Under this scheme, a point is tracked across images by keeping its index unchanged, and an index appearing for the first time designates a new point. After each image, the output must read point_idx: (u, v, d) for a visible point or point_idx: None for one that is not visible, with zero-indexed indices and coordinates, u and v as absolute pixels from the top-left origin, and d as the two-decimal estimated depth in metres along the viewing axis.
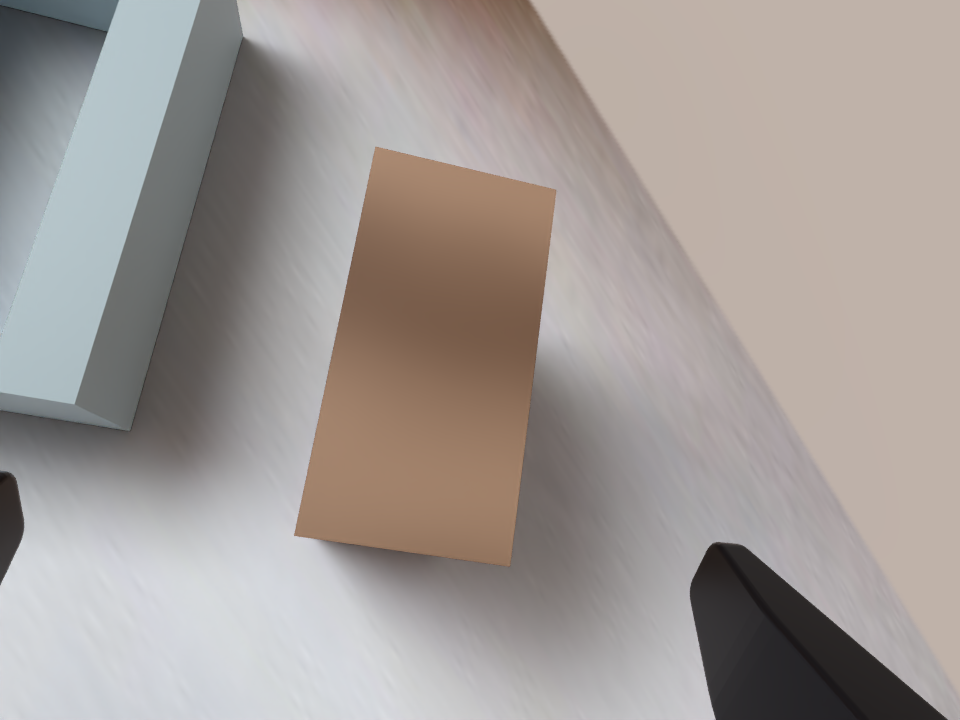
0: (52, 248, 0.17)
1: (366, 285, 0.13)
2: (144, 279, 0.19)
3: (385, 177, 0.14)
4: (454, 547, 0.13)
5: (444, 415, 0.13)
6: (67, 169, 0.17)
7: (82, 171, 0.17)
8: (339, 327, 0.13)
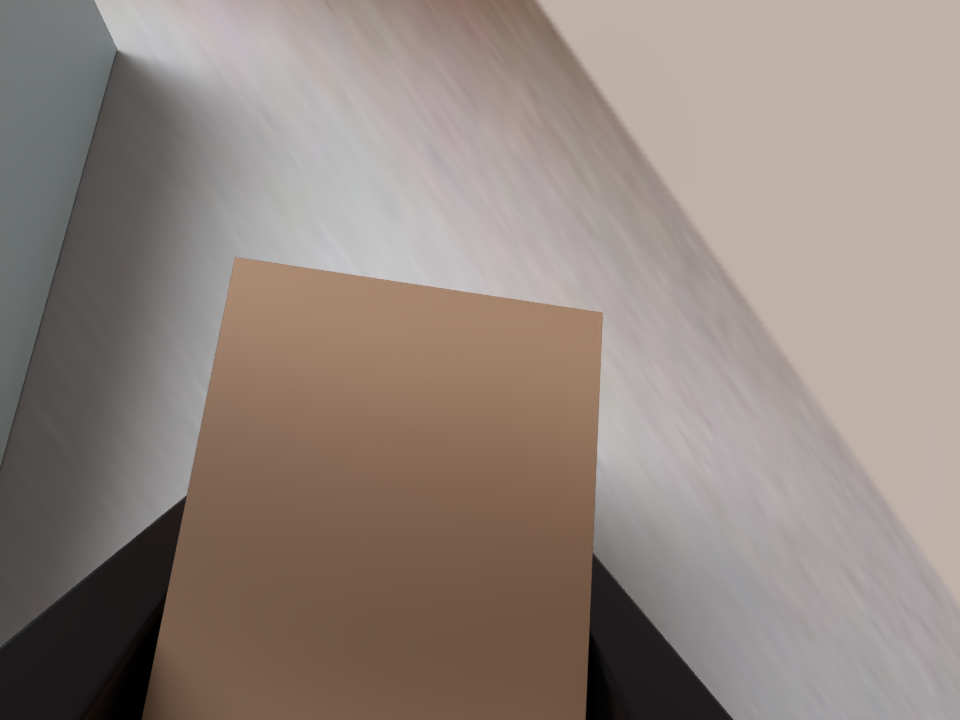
0: None
1: (215, 570, 0.06)
2: None
3: (256, 321, 0.07)
4: None
5: None
6: None
7: None
8: (154, 680, 0.06)
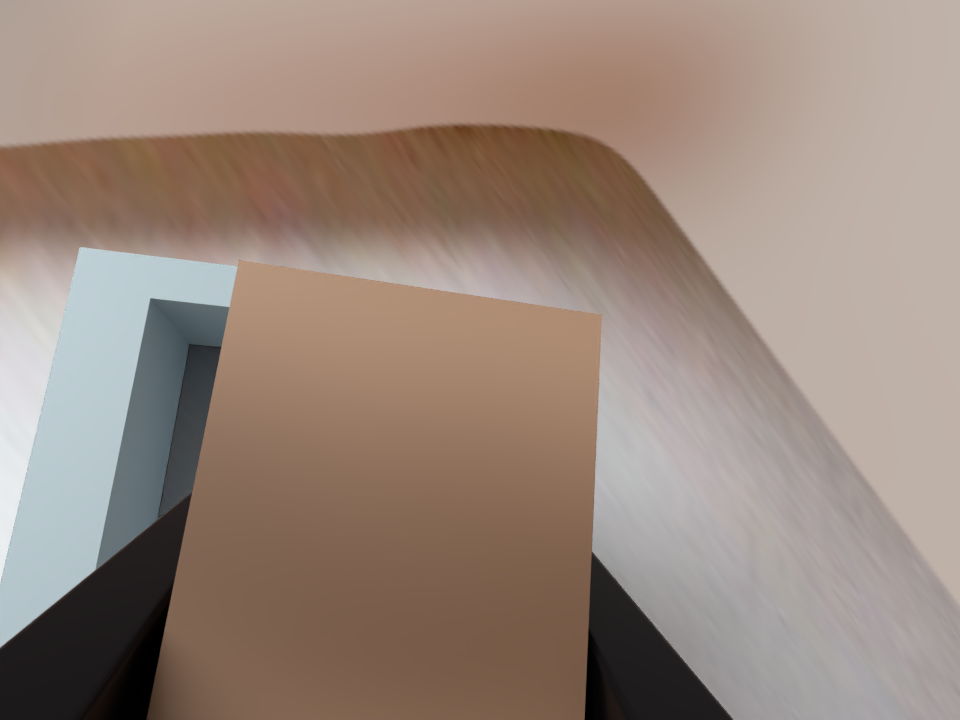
0: None
1: (220, 568, 0.06)
2: None
3: (260, 323, 0.07)
4: None
5: None
6: None
7: None
8: (159, 677, 0.06)
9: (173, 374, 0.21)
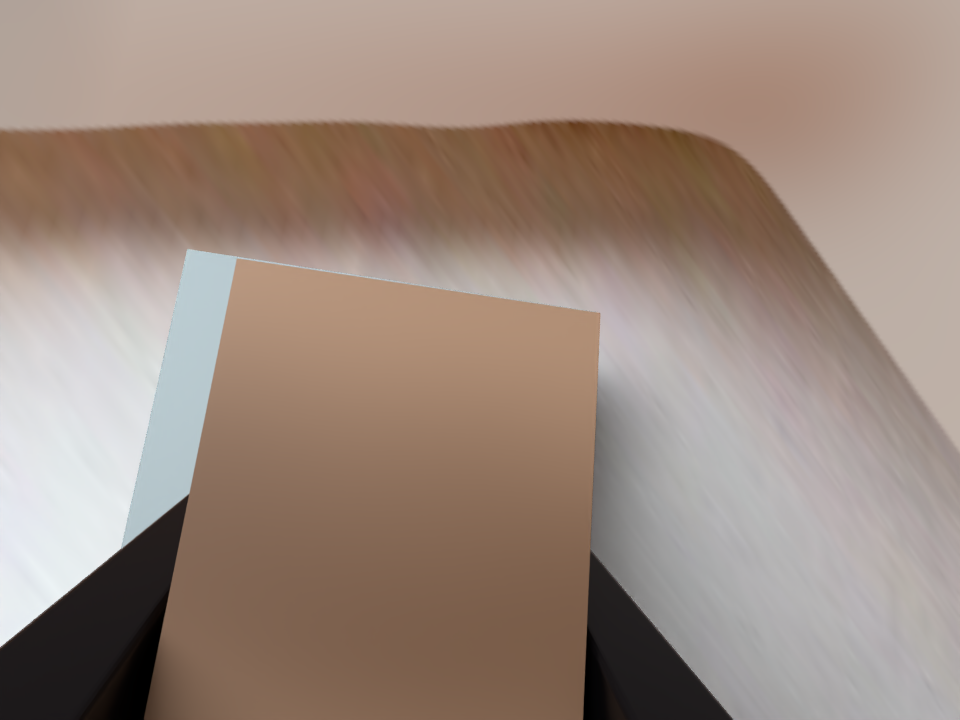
0: None
1: (217, 566, 0.06)
2: None
3: (258, 321, 0.07)
4: None
5: None
6: None
7: None
8: (157, 675, 0.06)
9: None
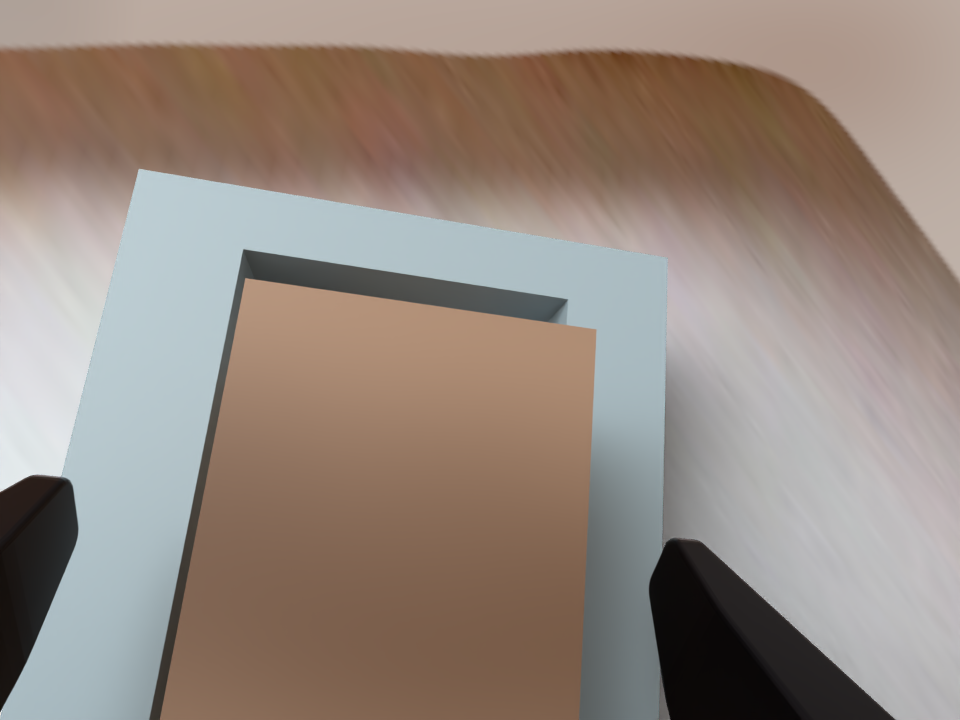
0: None
1: (228, 576, 0.07)
2: None
3: (266, 339, 0.07)
4: None
5: None
6: None
7: None
8: (171, 681, 0.06)
9: None
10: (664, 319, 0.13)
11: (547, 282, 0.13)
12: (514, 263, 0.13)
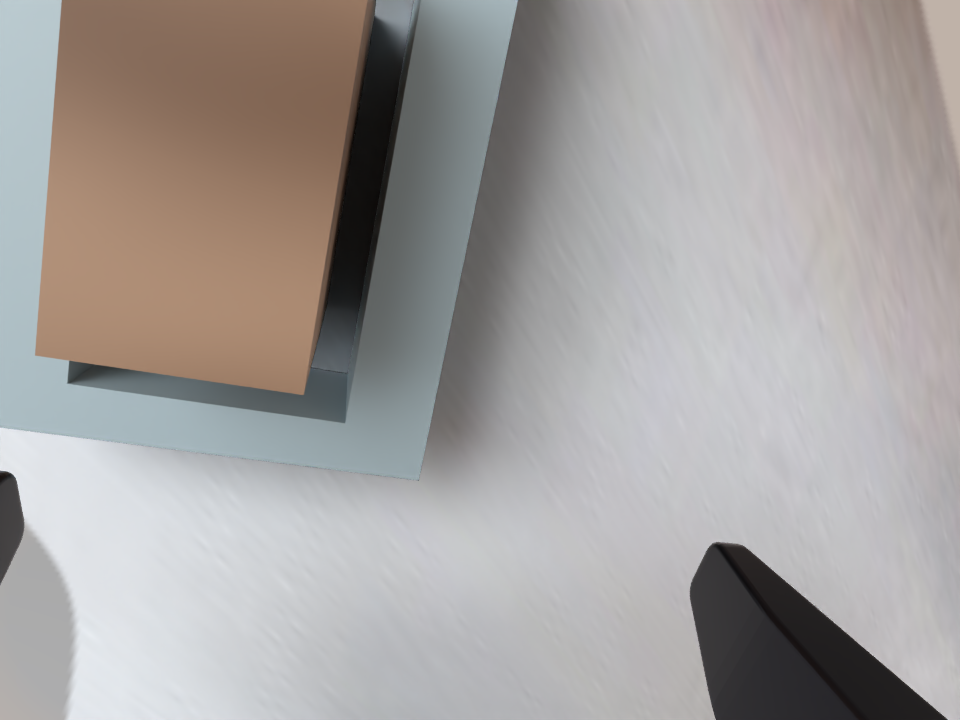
0: (383, 324, 0.15)
1: (90, 18, 0.09)
2: None
3: None
4: (235, 372, 0.11)
5: (217, 215, 0.10)
6: (387, 228, 0.15)
7: (403, 230, 0.15)
8: (58, 84, 0.09)
9: None
10: None
11: None
12: None
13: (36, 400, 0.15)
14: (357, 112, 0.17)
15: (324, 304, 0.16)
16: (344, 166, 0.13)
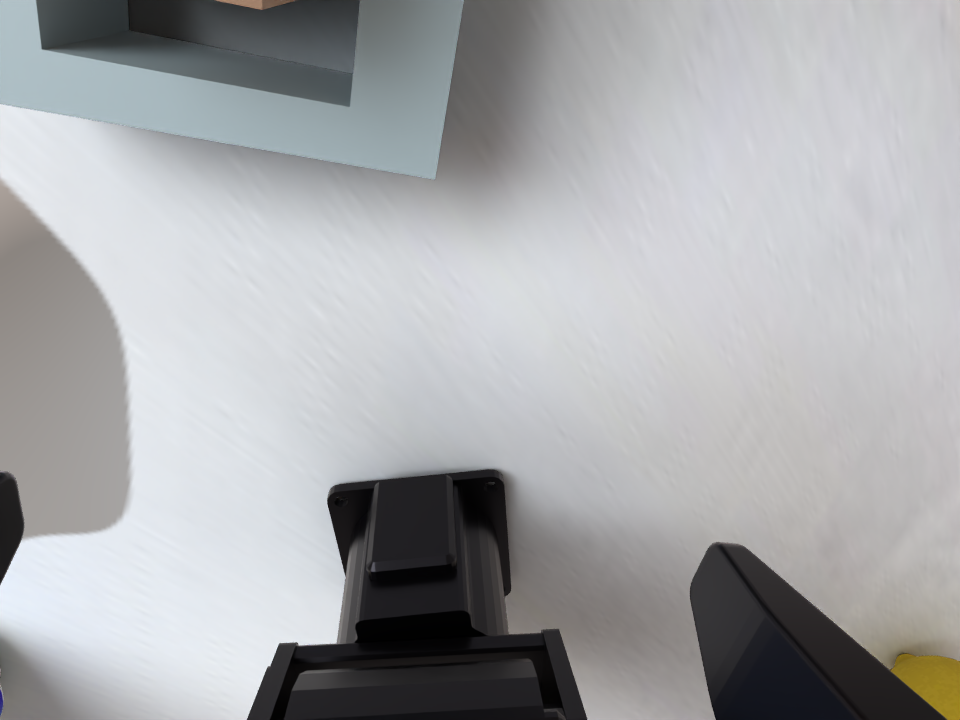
0: None
1: None
2: None
3: None
4: None
5: None
6: None
7: None
8: None
9: None
10: None
11: None
12: None
13: (13, 69, 0.13)
14: None
15: None
16: None
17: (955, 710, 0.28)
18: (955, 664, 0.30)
